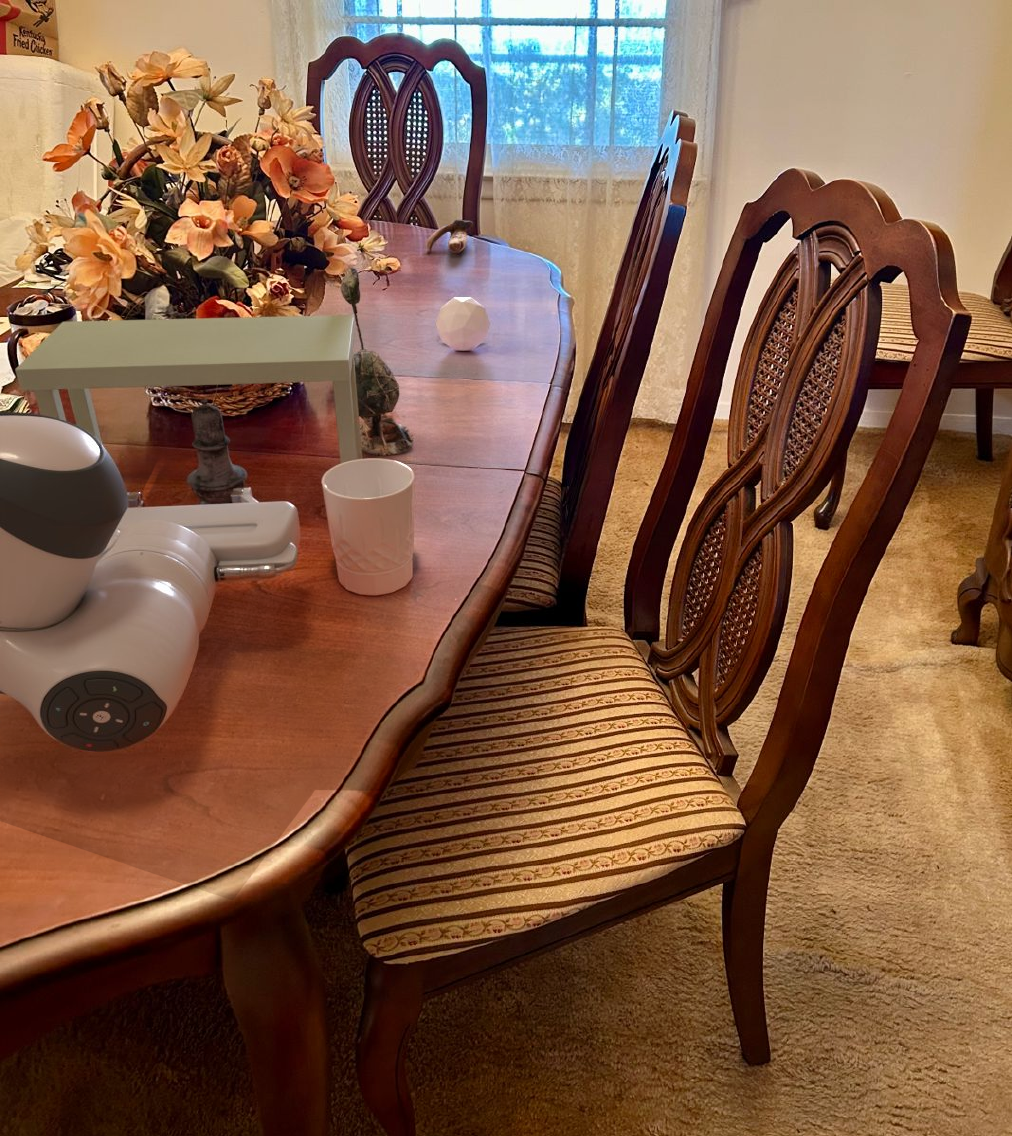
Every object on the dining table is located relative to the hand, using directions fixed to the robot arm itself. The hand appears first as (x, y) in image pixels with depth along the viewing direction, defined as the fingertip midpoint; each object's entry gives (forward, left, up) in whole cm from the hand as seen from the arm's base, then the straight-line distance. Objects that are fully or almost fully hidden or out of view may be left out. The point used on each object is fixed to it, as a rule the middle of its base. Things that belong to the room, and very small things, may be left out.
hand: (189, 497), depth 83 cm
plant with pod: (+16, +26, -7) cm, 31 cm away
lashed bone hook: (+29, +124, -7) cm, 128 cm away
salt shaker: (0, +11, -7) cm, 14 cm away
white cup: (+16, -4, -7) cm, 18 cm away
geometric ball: (+28, +60, -7) cm, 66 cm away
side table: (0, +14, -7) cm, 15 cm away
